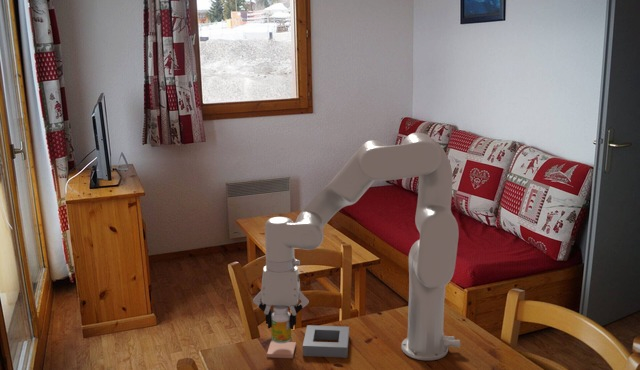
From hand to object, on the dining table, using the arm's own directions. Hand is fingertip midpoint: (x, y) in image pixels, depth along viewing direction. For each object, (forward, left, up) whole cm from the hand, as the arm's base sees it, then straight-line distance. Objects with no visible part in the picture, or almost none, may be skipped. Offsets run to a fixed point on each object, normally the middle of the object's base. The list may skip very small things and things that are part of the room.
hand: (281, 325), depth 175 cm
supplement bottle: (0, 0, -4) cm, 4 cm away
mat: (0, 0, -8) cm, 8 cm away
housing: (-12, -4, -8) cm, 15 cm away
